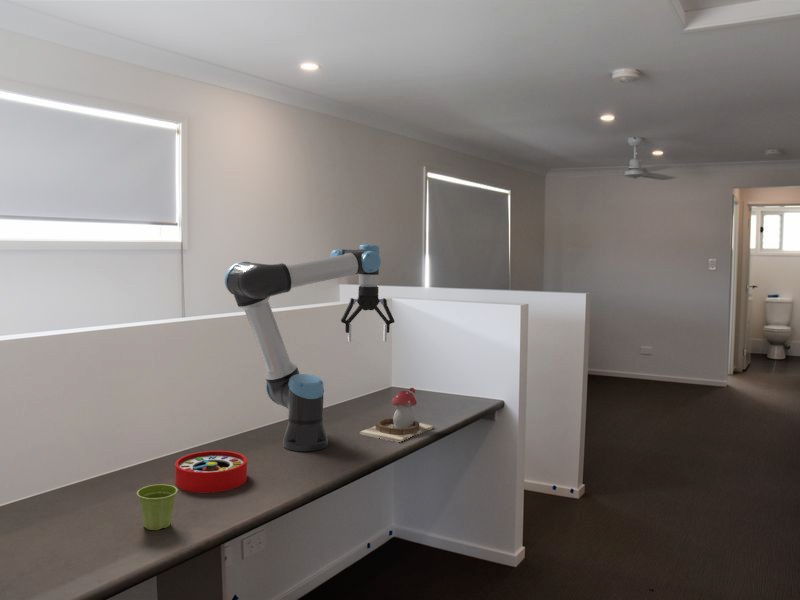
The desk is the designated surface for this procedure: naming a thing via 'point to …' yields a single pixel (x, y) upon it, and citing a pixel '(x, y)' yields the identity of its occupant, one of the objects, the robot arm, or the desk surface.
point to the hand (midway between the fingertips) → (367, 341)
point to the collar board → (394, 437)
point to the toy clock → (210, 471)
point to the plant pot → (157, 505)
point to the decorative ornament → (404, 409)
